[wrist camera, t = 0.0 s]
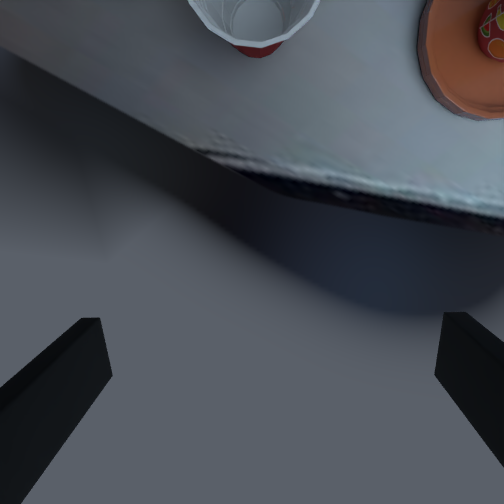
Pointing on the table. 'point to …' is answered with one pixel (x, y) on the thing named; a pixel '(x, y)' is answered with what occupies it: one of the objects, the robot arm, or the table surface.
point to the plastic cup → (254, 21)
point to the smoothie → (492, 31)
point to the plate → (459, 60)
